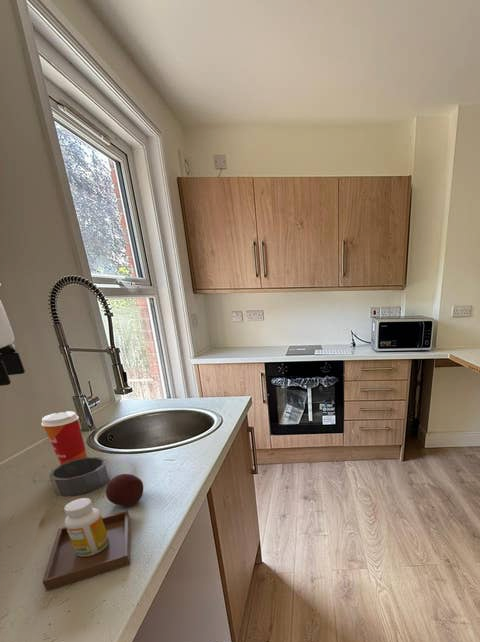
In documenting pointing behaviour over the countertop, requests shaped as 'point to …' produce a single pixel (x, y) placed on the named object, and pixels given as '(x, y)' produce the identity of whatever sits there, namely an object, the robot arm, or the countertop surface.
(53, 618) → the countertop surface
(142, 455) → the countertop surface
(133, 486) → the dark red plum
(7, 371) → the robot arm
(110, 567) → the tray
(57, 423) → the coffee cup
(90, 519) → the supplement bottle
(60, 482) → the grey round bowl
